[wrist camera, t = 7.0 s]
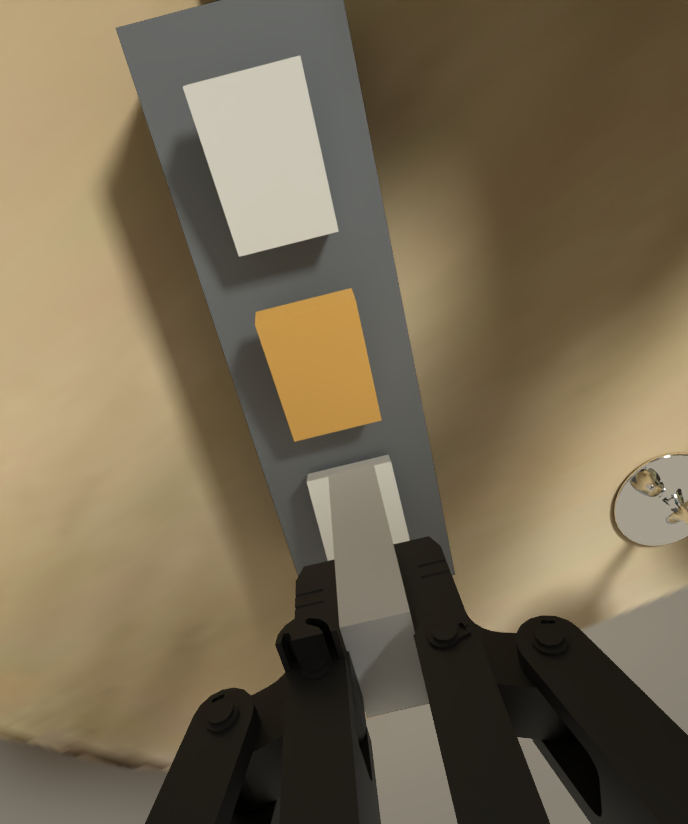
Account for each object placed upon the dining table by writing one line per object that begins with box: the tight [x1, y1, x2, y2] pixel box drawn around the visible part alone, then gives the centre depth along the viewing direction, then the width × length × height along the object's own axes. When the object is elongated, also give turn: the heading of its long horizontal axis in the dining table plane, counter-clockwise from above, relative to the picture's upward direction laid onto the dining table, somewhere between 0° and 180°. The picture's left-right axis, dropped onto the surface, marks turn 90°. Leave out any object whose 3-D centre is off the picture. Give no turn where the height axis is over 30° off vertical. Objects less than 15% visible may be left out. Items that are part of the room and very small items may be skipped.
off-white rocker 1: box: [182, 56, 339, 257], centre depth 22 cm, size 6×4×1 cm
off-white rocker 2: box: [307, 455, 410, 561], centre depth 28 cm, size 6×4×1 cm
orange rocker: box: [255, 288, 382, 442], centre depth 25 cm, size 6×4×1 cm
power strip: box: [116, 0, 455, 576], centre depth 28 cm, size 36×9×7 cm, turn 14°
